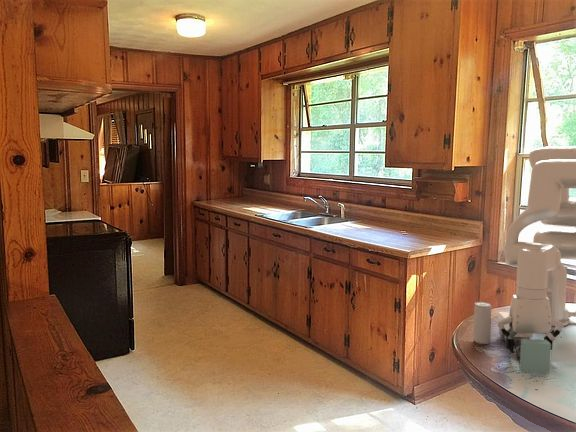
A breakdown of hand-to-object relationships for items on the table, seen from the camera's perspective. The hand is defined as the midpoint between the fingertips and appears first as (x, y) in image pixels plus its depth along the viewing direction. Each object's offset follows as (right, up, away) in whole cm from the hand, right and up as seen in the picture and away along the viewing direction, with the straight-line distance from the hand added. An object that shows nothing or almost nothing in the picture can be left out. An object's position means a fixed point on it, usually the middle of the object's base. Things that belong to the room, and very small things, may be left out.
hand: (528, 351), depth 136 cm
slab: (+1, +3, +12) cm, 12 cm away
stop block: (-2, -3, -7) cm, 8 cm away
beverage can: (-8, -1, +13) cm, 15 cm away
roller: (0, -2, 0) cm, 2 cm away
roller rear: (+2, 0, +15) cm, 15 cm away
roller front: (+1, -1, +10) cm, 10 cm away
